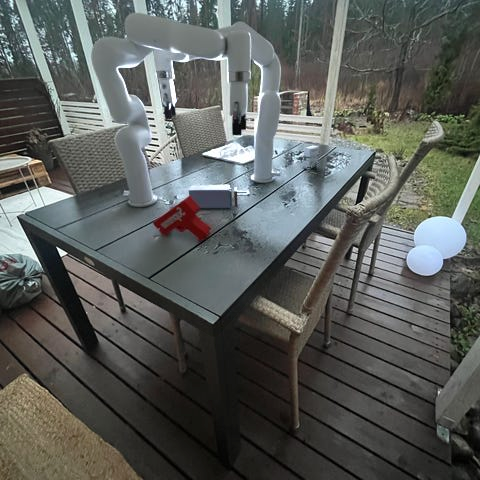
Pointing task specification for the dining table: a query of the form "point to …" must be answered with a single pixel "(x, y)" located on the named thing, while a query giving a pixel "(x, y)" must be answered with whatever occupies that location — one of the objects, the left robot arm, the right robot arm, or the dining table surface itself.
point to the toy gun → (183, 220)
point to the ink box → (310, 156)
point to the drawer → (237, 195)
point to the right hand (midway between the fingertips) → (170, 117)
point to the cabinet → (211, 196)
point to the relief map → (232, 153)
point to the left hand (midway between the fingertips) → (239, 132)
